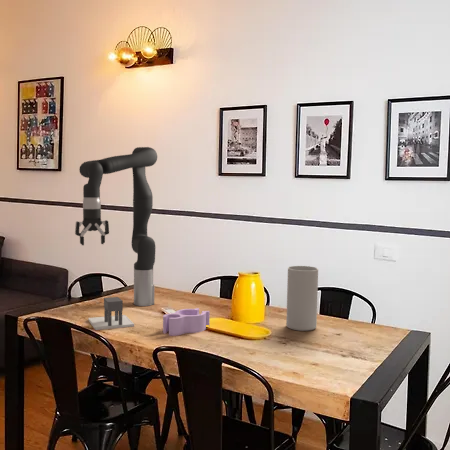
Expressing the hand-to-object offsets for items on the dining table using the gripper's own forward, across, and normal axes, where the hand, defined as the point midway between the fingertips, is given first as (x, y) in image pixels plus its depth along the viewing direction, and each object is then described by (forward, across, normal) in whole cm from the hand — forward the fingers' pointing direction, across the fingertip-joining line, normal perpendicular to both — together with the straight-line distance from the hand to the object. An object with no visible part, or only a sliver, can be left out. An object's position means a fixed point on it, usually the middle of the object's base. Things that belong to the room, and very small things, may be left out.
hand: (92, 244), depth 248 cm
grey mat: (+32, -4, +16) cm, 36 cm away
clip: (+32, -30, +36) cm, 57 cm away
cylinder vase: (+33, -76, +51) cm, 97 cm away
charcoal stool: (+26, -4, +23) cm, 35 cm away
